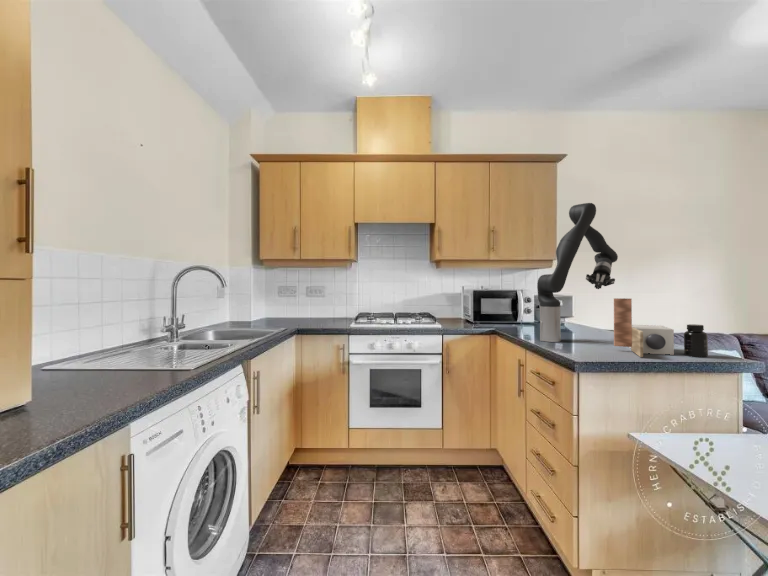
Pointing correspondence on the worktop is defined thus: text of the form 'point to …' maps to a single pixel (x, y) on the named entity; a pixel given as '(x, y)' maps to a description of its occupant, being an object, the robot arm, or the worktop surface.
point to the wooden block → (626, 327)
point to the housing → (657, 339)
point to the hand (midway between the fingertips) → (597, 287)
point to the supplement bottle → (695, 341)
